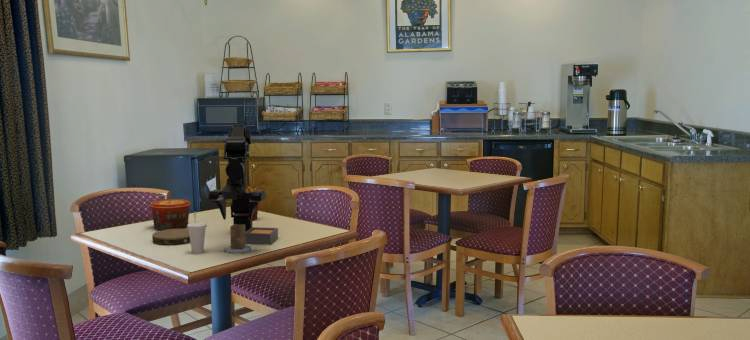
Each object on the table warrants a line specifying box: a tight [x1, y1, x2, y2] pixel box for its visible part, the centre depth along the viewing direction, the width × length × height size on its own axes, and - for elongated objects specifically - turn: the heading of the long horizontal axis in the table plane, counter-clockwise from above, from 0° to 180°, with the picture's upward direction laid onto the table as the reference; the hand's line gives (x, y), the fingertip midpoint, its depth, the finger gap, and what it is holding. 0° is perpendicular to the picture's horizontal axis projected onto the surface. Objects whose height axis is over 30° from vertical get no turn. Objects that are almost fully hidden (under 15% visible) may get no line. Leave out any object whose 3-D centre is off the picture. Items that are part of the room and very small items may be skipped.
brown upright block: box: [229, 224, 247, 250], centre depth 203 cm, size 4×4×8 cm
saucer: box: [224, 244, 252, 254], centre depth 203 cm, size 9×9×1 cm
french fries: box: [246, 186, 261, 222], centre depth 252 cm, size 9×8×15 cm
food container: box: [148, 198, 192, 231], centre depth 237 cm, size 16×16×11 cm
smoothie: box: [186, 211, 208, 254], centre depth 200 cm, size 6×6×14 cm
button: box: [250, 229, 273, 234], centre depth 216 cm, size 8×8×2 cm
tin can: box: [151, 228, 191, 247], centre depth 217 cm, size 16×16×3 cm
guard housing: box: [246, 226, 279, 245], centre depth 216 cm, size 10×10×4 cm
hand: (237, 219), depth 202 cm, fingers open, 9 cm apart
